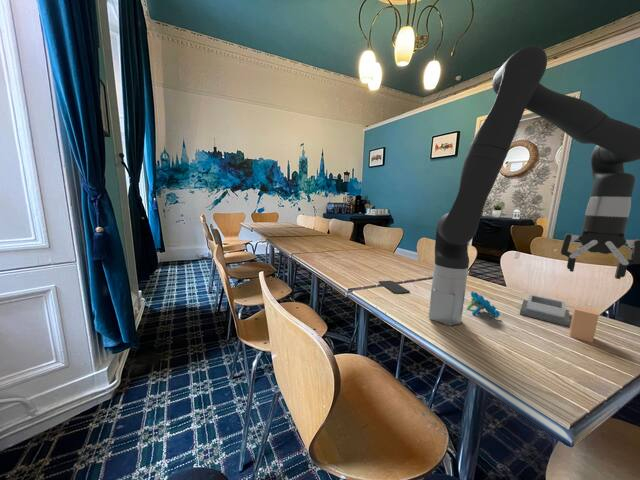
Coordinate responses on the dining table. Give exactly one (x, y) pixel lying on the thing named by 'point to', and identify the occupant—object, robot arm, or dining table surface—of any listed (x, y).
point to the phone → (394, 287)
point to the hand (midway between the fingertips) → (593, 274)
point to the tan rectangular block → (583, 323)
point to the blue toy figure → (482, 305)
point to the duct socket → (546, 310)
